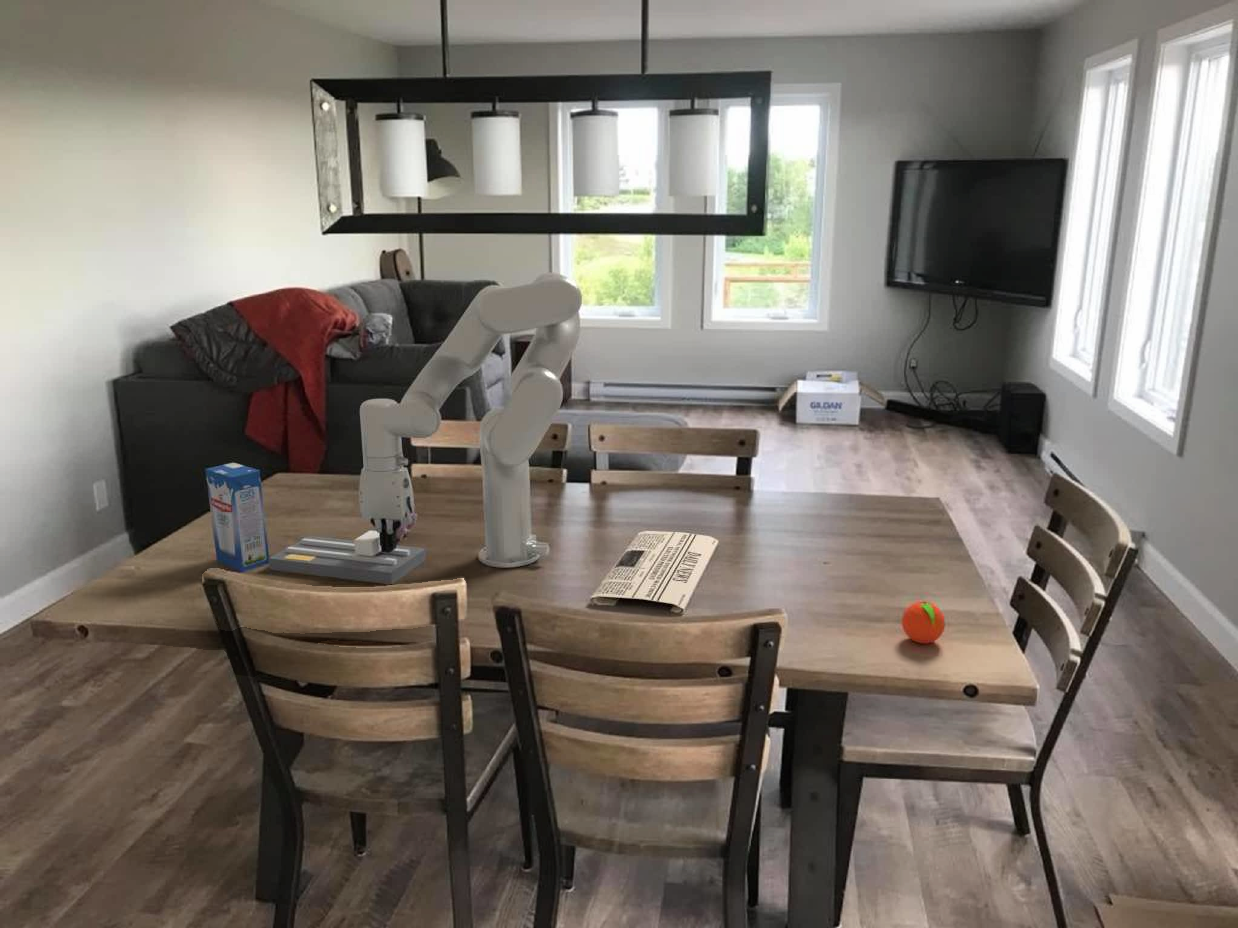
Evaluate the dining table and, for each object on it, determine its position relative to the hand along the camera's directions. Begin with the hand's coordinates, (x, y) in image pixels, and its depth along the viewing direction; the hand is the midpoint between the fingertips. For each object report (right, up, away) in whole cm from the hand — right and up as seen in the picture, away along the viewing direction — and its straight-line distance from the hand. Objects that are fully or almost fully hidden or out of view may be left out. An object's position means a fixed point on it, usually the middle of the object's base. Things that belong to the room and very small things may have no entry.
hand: (389, 550), depth 199 cm
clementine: (+97, -13, -33) cm, 103 cm away
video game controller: (-2, +1, +20) cm, 20 cm away
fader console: (-9, -3, +4) cm, 11 cm away
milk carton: (-32, -3, +6) cm, 32 cm away
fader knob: (-4, -1, +2) cm, 4 cm away
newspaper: (+55, -5, -2) cm, 55 cm away
